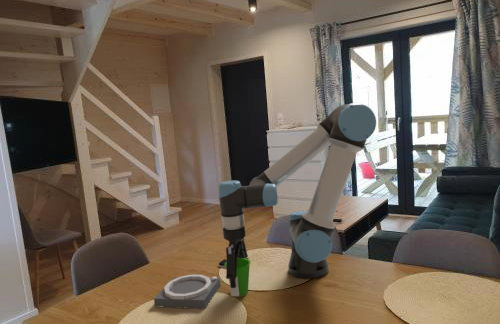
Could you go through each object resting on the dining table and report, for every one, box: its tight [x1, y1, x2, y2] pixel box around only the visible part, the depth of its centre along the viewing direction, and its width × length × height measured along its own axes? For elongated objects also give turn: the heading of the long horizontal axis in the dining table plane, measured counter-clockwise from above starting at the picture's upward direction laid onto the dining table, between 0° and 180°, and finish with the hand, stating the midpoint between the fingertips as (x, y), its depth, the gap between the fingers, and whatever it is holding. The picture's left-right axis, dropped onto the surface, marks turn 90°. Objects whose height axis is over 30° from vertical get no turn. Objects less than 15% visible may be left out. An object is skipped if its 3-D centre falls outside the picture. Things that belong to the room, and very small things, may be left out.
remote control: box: [218, 257, 227, 269], centre depth 156 cm, size 6×13×2 cm, turn 149°
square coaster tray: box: [153, 274, 221, 310], centre depth 129 cm, size 18×16×4 cm
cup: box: [224, 257, 251, 297], centre depth 127 cm, size 9×9×11 cm
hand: (239, 287), depth 127 cm, fingers open, 11 cm apart
